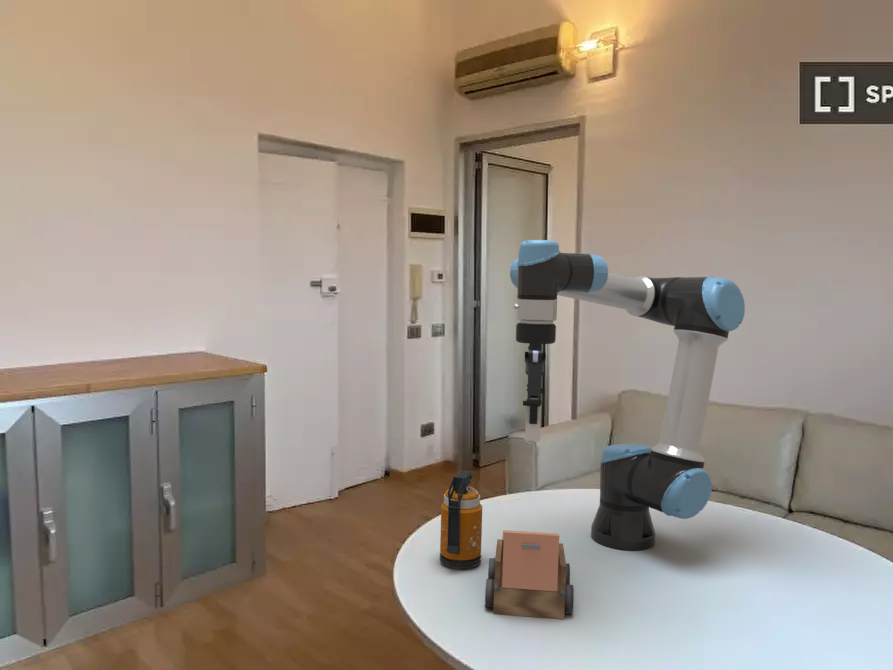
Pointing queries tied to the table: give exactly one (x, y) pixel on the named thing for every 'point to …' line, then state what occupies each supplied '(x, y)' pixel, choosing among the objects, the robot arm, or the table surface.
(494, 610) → the truck
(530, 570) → the panel
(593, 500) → the table surface
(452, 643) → the table surface
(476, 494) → the canister
